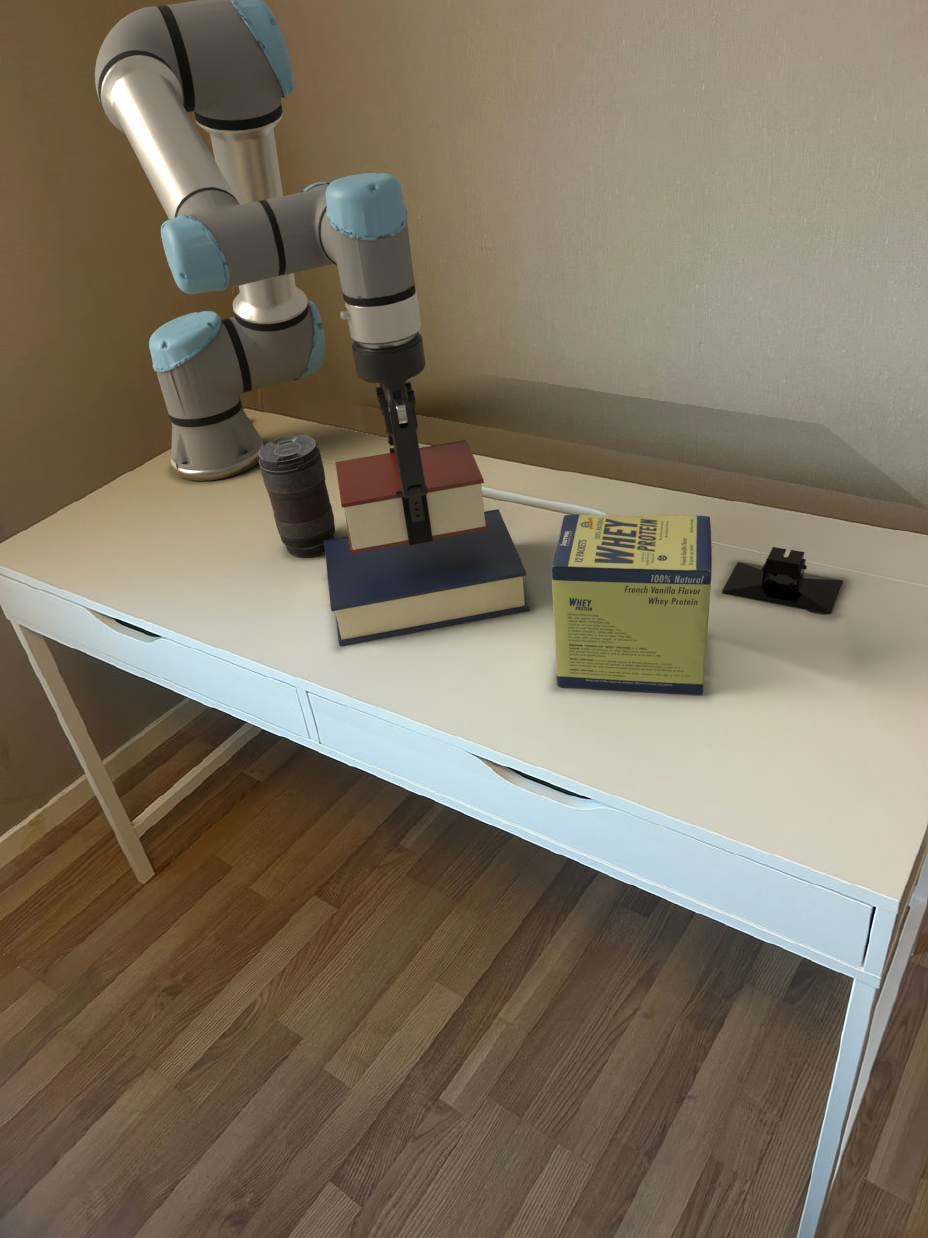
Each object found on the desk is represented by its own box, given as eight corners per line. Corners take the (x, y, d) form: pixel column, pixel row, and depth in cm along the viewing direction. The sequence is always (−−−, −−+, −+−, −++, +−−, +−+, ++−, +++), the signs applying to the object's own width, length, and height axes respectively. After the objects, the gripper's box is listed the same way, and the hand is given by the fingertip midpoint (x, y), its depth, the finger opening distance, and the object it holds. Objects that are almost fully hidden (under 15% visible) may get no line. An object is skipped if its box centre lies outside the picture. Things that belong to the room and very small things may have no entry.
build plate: (843, 583, 110) (848, 549, 107) (830, 617, 105) (835, 583, 102) (737, 563, 115) (740, 531, 112) (720, 595, 110) (723, 561, 107)
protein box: (705, 696, 96) (713, 569, 87) (555, 688, 99) (547, 566, 90) (705, 635, 104) (712, 513, 95) (566, 630, 108) (560, 512, 99)
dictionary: (344, 509, 115) (335, 461, 111) (471, 487, 116) (466, 439, 112) (351, 554, 106) (341, 503, 102) (488, 529, 107) (483, 479, 104)
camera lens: (276, 540, 132) (251, 443, 124) (331, 525, 134) (310, 428, 125) (288, 567, 126) (262, 466, 117) (345, 550, 128) (324, 450, 119)
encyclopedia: (331, 575, 123) (323, 540, 120) (501, 544, 125) (498, 508, 121) (339, 646, 110) (330, 608, 107) (529, 610, 112) (526, 572, 108)
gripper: (343, 310, 108) (374, 480, 120) (360, 380, 89) (394, 574, 101) (407, 299, 108) (431, 470, 121) (437, 368, 89) (461, 561, 102)
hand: (414, 517), depth 111 cm, fingers closed on dictionary, 11 cm apart
